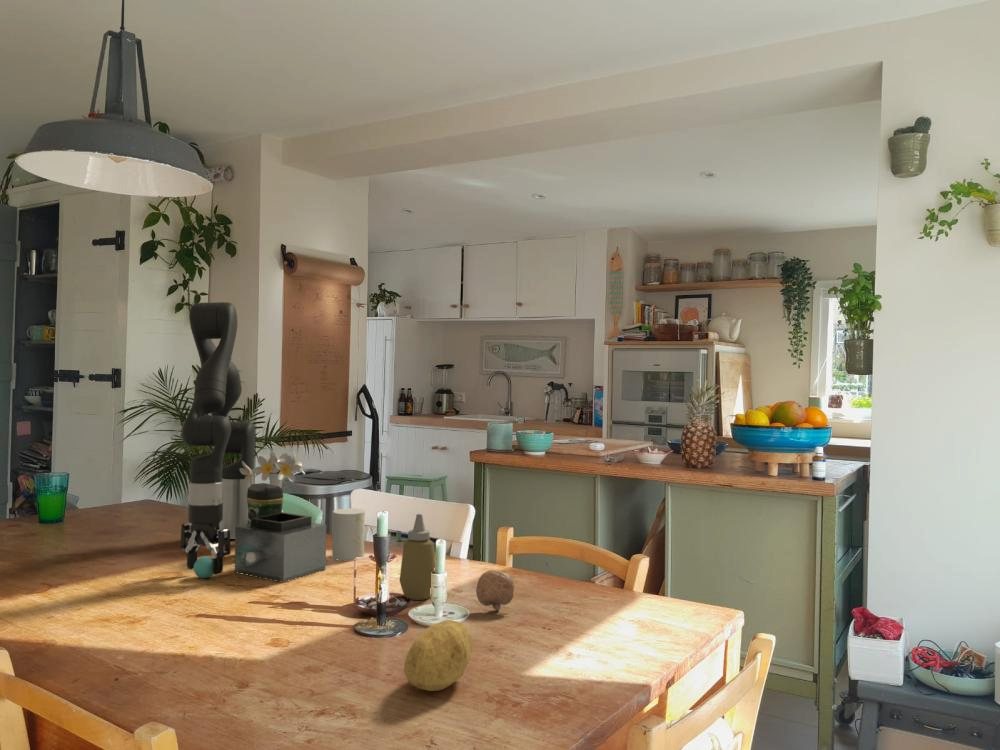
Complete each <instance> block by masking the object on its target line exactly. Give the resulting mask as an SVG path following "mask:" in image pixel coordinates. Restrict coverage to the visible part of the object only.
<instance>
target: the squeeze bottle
mask: <svg viewBox="0 0 1000 750" xmlns="http://www.w3.org/2000/svg"><path fill="white" fill-rule="evenodd" d="M407 532H408V533H407V535H408V537H407V538H408V539H407V540H406V541H404V542H403V546H402V547H403V549H402V557H401V565H400V573H399V584H400V586H401V591H402V594H403V596H405V597H407V598H406V599H408V598H409V599H408V600H414V601H421V600H427V599H430V598H431V597H430V588H431V572H433V571H434V568H435V565H436V554H435V544H434V542H433V540H431V539H430V536H431V535H430V534H431V533H430V530H428V529H425V523H424V517H423V514H422V513H417V514H416V515H415V521H414V524H413V529H409V530H408V531H407ZM405 597H404V598H405Z"/></svg>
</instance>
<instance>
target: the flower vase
mask: <svg viewBox="0 0 1000 750" xmlns="http://www.w3.org/2000/svg"><path fill="white" fill-rule="evenodd" d="M257 462H258V464H259V466H257V467H254V469H253V470H251V469H250V468H249V467H248V466H247V465H246V464H245V463H244V462H243V461H242V465H243V467H244V468H246V469H244V468H240V469H239V470H240V472H241V473H242V474H243V475H247V476H246V477H245V485H246V486H247V484H248V483H249V481H250V485H252V479H253V480H254V477H257V476H258V475H260V474H261V480H262V482H265V481H267V480H269V484H271V485H275V486H279V487H281V488H282V483H283V480H284V479H285V478H287V479H288V480H289V481H290V482H291V483H295V482H296V476H295V474H294V473H295V472H297V471H299V472H300V473H302V474H303V475H306V472H305V471H304V470H303V469H302V468H301V467H303V463H302V462H301V460H297V455H296V452H295V451H293V453H292V456H291V455H289V453H287V452H285V453H282V454H281V455H280V456H278V454H277V452H275V451H270V453H268V454H267V456H266V458H265V457H264V456H262V455H260V456H258V457H257ZM254 474H255V475H254ZM282 512H284V511H283V509H282Z"/></svg>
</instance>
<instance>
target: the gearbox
mask: <svg viewBox="0 0 1000 750" xmlns="http://www.w3.org/2000/svg"><path fill="white" fill-rule="evenodd" d="M326 559H327V524H323V523H315V522H312V516H309V515H302V514H296V513H290V512H284V511H283V512H280V513H275V514H270V515H266V516H261V517H256V518H251V524H246V525H241V526H237V527H235V540H234V573H235V572H238V573H237V574H239V573H243V574H242V575H244V574H248V575H247V576H249V575H252V576H251V577H253V576H257V577H256V578H258V577H261V578H260V579H263V578H267V579H266V580H268V579H272V580H277V581H282V582H284V583H286V582H285V581H288V580H291V579H294V580H296V579H295V578H297V579H300V578H299V577H301V578H304V577H306V575H307V576H310V575H312V574H316V572H317V573H319V571H320V572H322V571H325V570H326V569H327V568H326V567H327V565H326V564H327V563H326V561H327V560H326ZM309 574H310V575H309ZM303 576H304V577H303ZM272 580H271V581H272ZM277 581H276V582H277ZM291 581H292V580H291ZM282 582H281V583H282ZM288 582H289V581H288Z"/></svg>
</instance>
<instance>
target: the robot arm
mask: <svg viewBox="0 0 1000 750" xmlns="http://www.w3.org/2000/svg"><path fill="white" fill-rule="evenodd" d="M188 316H189V325H190V329H191V333H192V337H193V341H194V344H195V347H196V350H197V353H198V357H199V360H200V361H199V362H200V366H201V367H200V368H199V370H198V371H197V374H196V378H195V382H194V383H195V384H194V392H193V393H194V394H193V402H192V404H191V407H190V409H189V411H188V414H187V416H186V419H184V423H183V426H182V430H181V436H182V439H183V441H184V442H185V443H186V445H188V446H192V447H199V446H200V447H207V446H210V447H212V446H213V447H214V448H213V450H212V452H210V453H207V454H203V455H200V456H195V457H193V458H192V459H191V460H190V465H189V468H190V469H189V471H190V473H189V475H190V476H189V488H188V506H187V508H188V511H187V513H188V514H187V518H188V519H187V521H188V522H187V523H182V524H181V528H180V530H181V531H180V544H179V545H180V549H181V550H185V553H186V565H187V567H186V568H187V569H189V570H194V564H195V562H196V561H197V560H198V549H199V547H200V546H203V547H206V548H207V550H208V551H210V553H211V555H212V558H213V564H212V573H213V575H218V574H221V573H222V572H223V570H224V557H225V556H228V555H231V540H230V538H235V527H237V526H241V525H246V524H247V523H248V504H247V491H248V488H249V487H250V486H251V485H250V481H249V483H248V484H247V486H246V485H245V477H246V476H247V475H243V474H242V473H241V472H240V470H239V469H240V468H244V467H243V465H242V461H243V462H244V463H245V464H246V465H247V466H248V467H249V468H250V469H251V470H253V469H254V468H255V467H254V465H255V461H254V460H255V446H256V445H255V444H256V428H255V427H256V426H255V425H254V423H253V422H251V421H230V419H229V418H228V417H227V416H228V414H229V413H230V411H231V410H232V409H233V408H234V406H235V405H236V403H237V402H238V401H239V399H240V397H241V394H242V389H243V388H242V381H241V375H240V371H239V369H238V367H237V366H236V364H234V362H233V361H232V360H231V358H232V355H233V351H234V346H235V343H236V342H235V341H236V336H237V332H238V313H237V309H236V306H235V305H234V304H233V303H231V302H225V301H222V302H221V301H220V302H219V301H217V302H198V303H196V302H195V303H193V304H192V305H191V307H190V309H189V315H188ZM217 339H218V340H219V339H220V340H219V343H218V345H217V346H216V345H215V343H214V342H213V340H217ZM208 414H211V415H208ZM225 454H227V455H228V454H232V455H233V454H235V455H236V454H239V455H241V457H240V458H239V459H238V460H237V461H235V462H233V463H230V464H228V465H225V466H223V463H224V462H223V461H224V456H225ZM244 469H246V468H244ZM252 484H254V478H253V479H252ZM186 541H187V542H186Z"/></svg>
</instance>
